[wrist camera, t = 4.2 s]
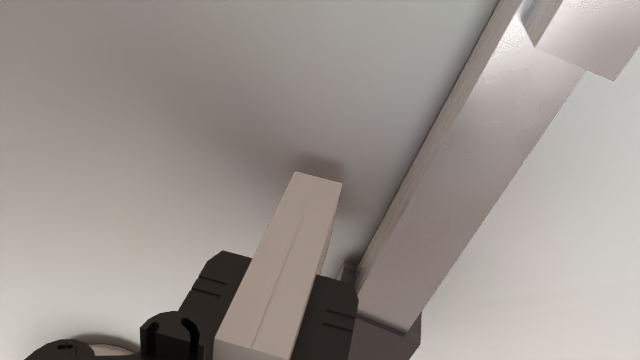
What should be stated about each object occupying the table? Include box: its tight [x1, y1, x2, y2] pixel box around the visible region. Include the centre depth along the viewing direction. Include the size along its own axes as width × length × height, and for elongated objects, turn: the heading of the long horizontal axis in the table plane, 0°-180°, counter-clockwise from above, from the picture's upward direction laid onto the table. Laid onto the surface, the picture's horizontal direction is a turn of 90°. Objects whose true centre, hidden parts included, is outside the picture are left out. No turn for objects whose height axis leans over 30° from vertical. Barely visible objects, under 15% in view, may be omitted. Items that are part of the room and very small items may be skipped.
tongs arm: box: [336, 0, 640, 360], centre depth 13 cm, size 24×3×4 cm, turn 161°
